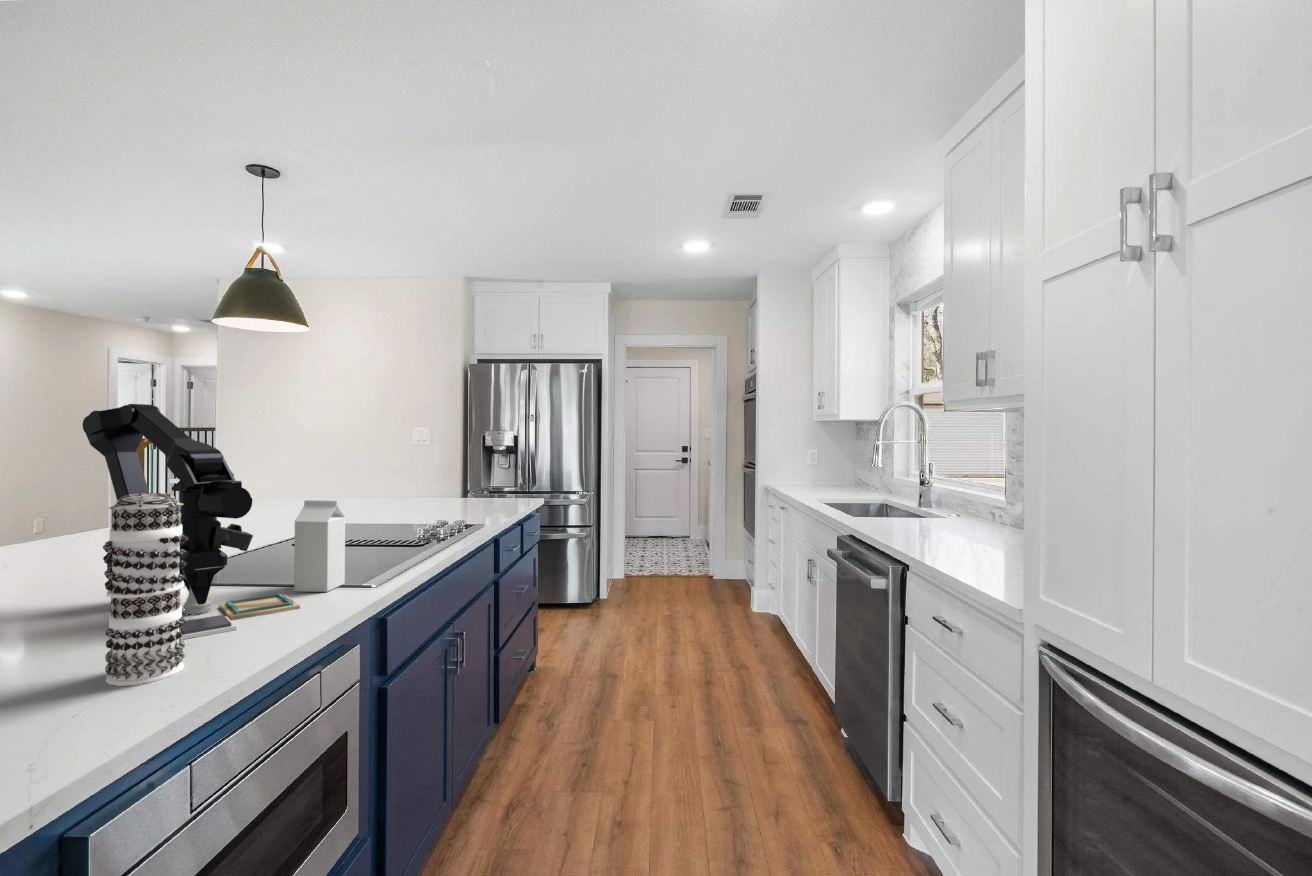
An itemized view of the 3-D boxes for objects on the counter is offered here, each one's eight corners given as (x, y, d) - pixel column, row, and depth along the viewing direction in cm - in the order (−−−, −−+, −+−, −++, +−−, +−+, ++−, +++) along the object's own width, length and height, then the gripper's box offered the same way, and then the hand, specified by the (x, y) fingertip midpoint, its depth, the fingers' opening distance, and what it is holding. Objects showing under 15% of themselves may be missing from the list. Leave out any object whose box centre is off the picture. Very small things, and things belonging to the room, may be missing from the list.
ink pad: (170, 628, 105) (170, 622, 105) (226, 619, 110) (226, 613, 110) (177, 640, 99) (177, 633, 99) (236, 629, 105) (236, 623, 105)
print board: (219, 607, 118) (219, 601, 118) (284, 596, 126) (284, 591, 126) (231, 619, 110) (231, 613, 110) (299, 608, 118) (299, 602, 118)
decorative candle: (177, 656, 92) (178, 490, 92) (196, 672, 86) (197, 494, 86) (96, 674, 85) (97, 494, 85) (110, 693, 79) (111, 499, 79)
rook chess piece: (196, 616, 112) (196, 572, 112) (176, 614, 113) (176, 571, 113) (218, 609, 117) (218, 567, 117) (198, 607, 117) (199, 566, 117)
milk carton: (327, 592, 129) (327, 502, 129) (293, 592, 130) (294, 502, 129) (344, 584, 137) (345, 499, 136) (313, 583, 137) (314, 498, 137)
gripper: (260, 517, 114) (259, 601, 114) (238, 507, 127) (238, 582, 127) (185, 522, 106) (184, 613, 106) (170, 512, 119) (169, 592, 119)
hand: (197, 598), depth 115 cm, fingers open, 9 cm apart
